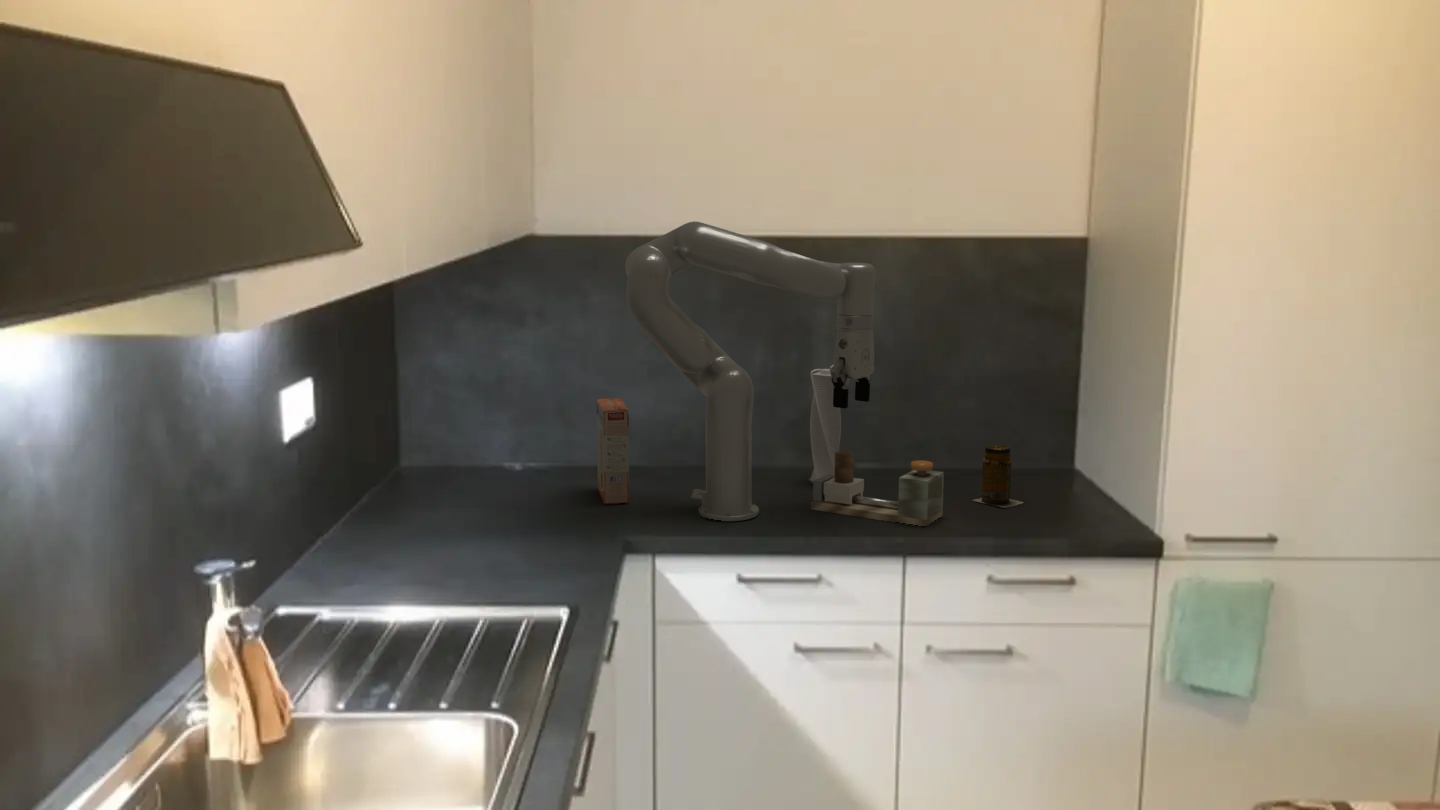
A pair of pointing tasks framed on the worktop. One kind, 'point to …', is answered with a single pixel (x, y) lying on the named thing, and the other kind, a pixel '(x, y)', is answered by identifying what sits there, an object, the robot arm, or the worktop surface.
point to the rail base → (870, 512)
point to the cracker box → (613, 450)
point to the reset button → (922, 467)
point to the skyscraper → (824, 425)
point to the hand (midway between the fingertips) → (851, 404)
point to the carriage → (843, 480)
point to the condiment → (997, 477)
